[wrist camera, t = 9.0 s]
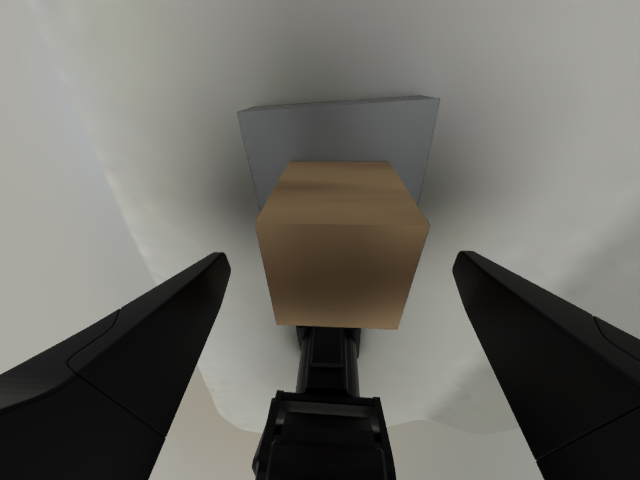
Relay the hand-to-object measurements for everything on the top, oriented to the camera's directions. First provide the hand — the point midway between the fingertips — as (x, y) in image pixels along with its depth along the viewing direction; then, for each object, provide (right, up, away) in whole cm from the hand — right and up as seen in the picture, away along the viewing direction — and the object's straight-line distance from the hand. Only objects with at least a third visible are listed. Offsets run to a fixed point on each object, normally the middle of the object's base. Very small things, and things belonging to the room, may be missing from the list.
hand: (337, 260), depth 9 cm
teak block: (0, +3, +4) cm, 5 cm away
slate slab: (0, +4, +6) cm, 8 cm away
